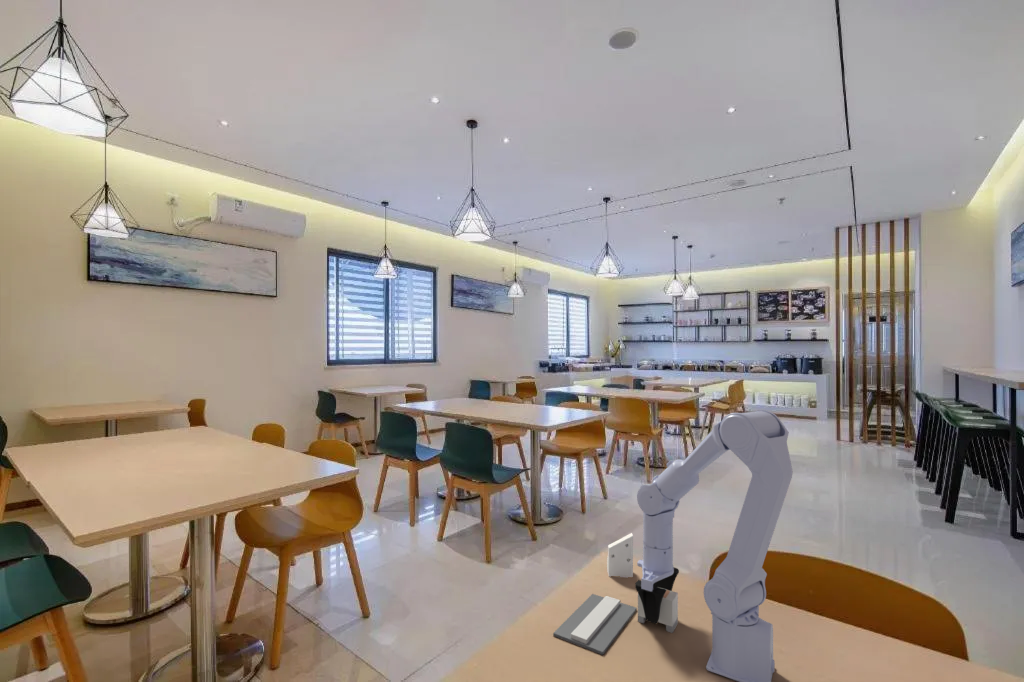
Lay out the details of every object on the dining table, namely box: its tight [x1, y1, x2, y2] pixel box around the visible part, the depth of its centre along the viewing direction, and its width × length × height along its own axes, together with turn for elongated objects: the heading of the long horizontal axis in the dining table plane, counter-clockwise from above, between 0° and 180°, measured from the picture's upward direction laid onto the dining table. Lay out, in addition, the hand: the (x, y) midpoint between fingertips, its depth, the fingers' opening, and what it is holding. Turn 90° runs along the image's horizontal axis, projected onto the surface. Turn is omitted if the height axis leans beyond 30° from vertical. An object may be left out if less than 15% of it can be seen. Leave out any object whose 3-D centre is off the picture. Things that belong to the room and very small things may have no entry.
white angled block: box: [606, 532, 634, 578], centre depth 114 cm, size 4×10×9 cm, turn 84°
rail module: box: [637, 588, 679, 634], centre depth 93 cm, size 7×4×6 cm, turn 56°
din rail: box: [552, 593, 638, 656], centre depth 93 cm, size 10×18×1 cm, turn 146°
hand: (657, 612), depth 93 cm, fingers open, 7 cm apart
